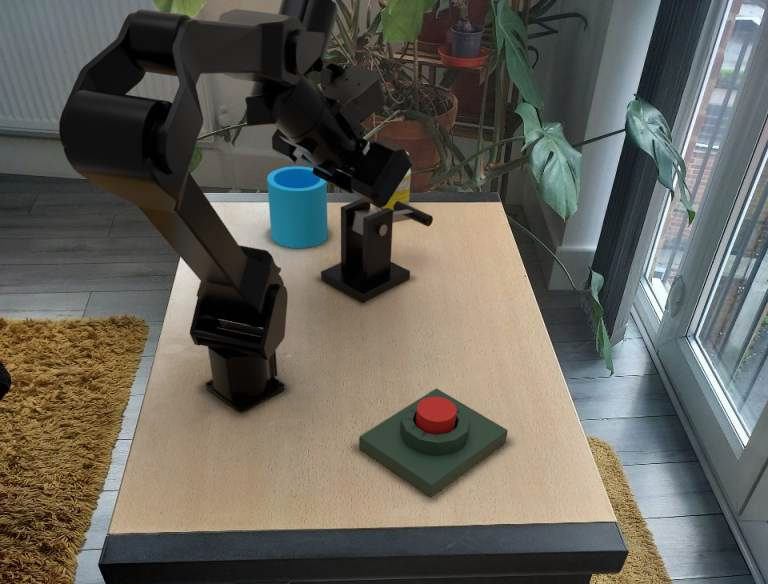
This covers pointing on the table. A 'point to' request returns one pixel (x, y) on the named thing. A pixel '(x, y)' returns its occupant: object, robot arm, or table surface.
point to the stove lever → (400, 214)
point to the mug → (297, 207)
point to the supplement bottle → (400, 192)
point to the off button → (436, 415)
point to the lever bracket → (365, 255)
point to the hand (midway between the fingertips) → (374, 192)
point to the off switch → (432, 445)
